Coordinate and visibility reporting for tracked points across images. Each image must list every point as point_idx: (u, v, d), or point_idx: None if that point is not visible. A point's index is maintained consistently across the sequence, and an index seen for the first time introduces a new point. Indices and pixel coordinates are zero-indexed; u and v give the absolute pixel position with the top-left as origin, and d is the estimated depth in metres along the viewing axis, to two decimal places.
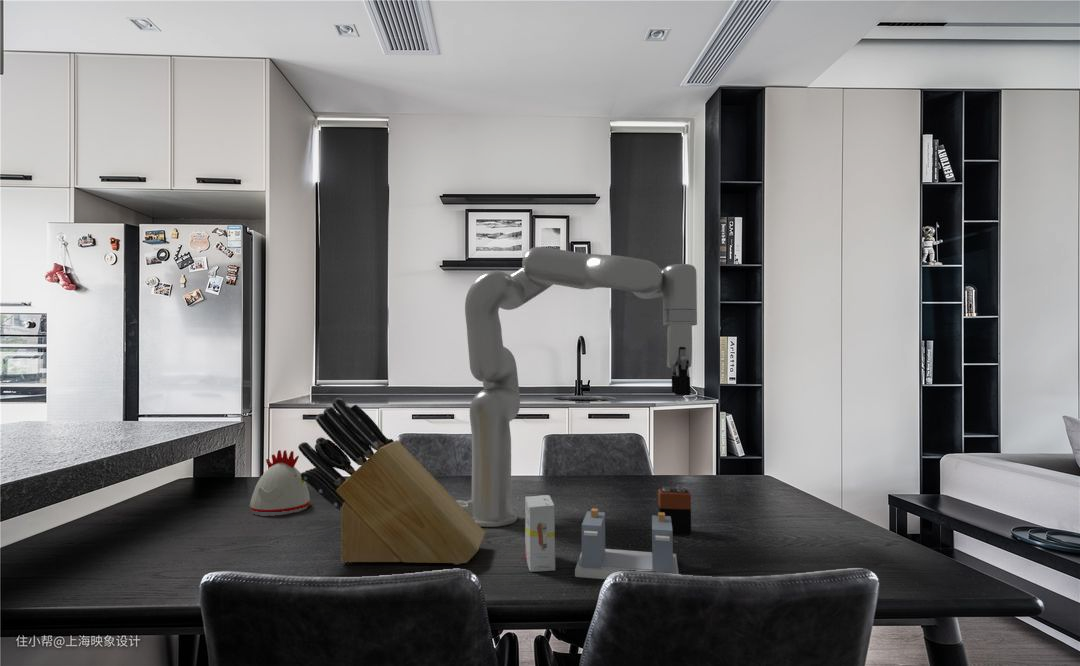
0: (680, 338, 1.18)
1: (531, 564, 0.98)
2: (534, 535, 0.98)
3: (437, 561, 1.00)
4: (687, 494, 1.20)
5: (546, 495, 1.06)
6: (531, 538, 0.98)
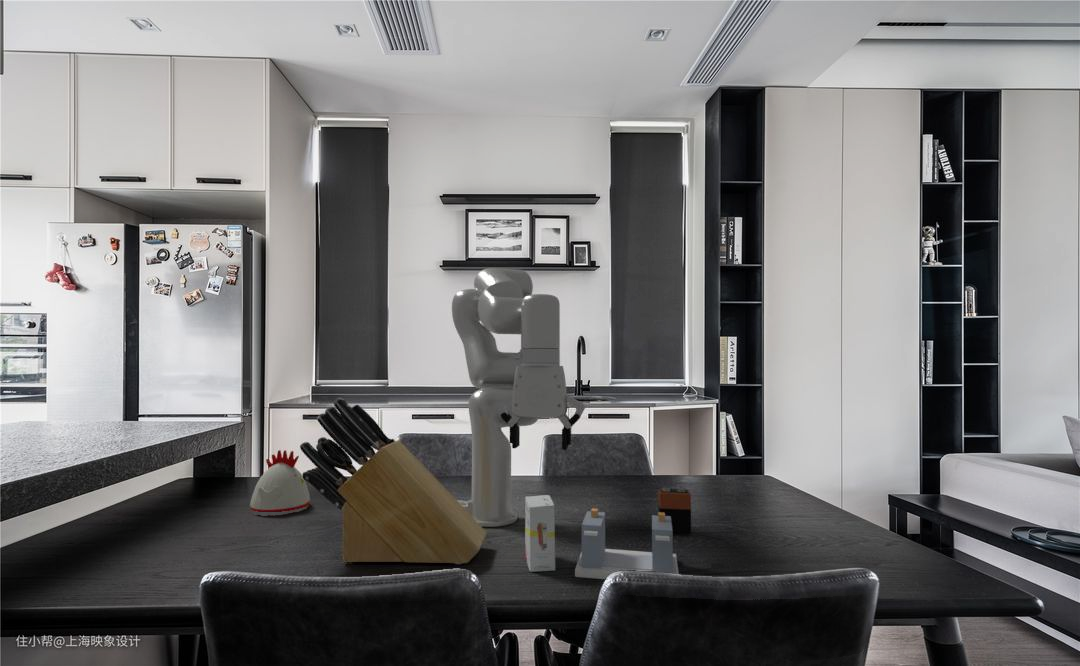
0: (565, 383, 1.03)
1: (531, 564, 0.98)
2: (534, 535, 0.98)
3: (438, 561, 1.00)
4: (687, 494, 1.20)
5: (546, 495, 1.06)
6: (531, 538, 0.98)
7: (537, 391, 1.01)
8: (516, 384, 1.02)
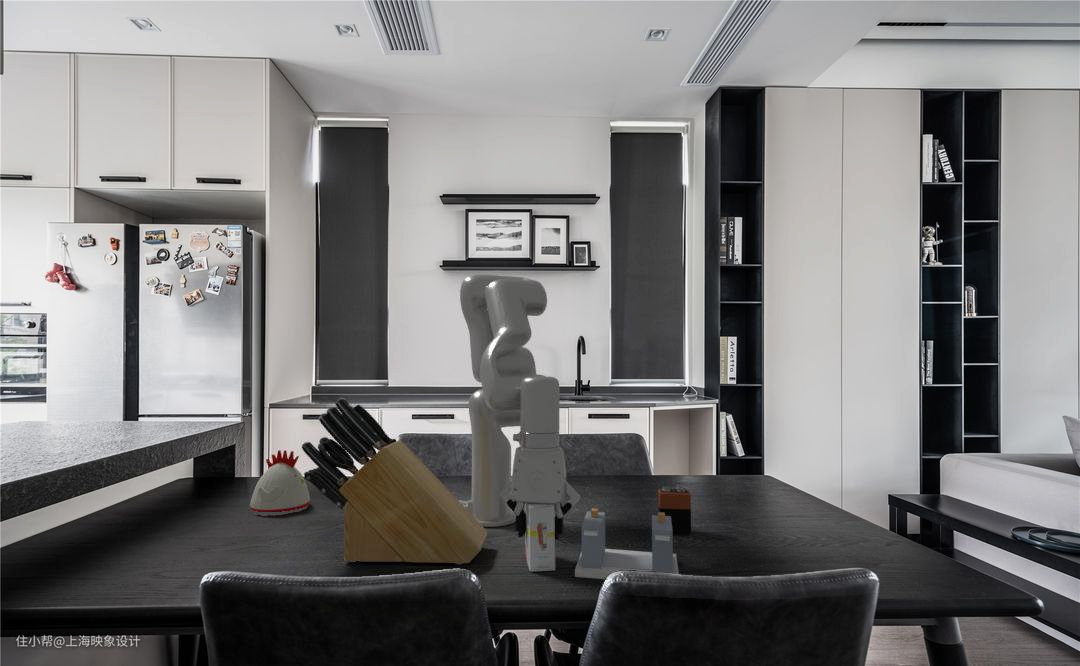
0: (564, 467, 1.02)
1: (531, 564, 0.98)
2: (534, 535, 0.98)
3: (439, 561, 1.00)
4: (687, 494, 1.20)
5: None
6: (531, 538, 0.98)
7: (536, 476, 1.00)
8: (515, 468, 1.01)
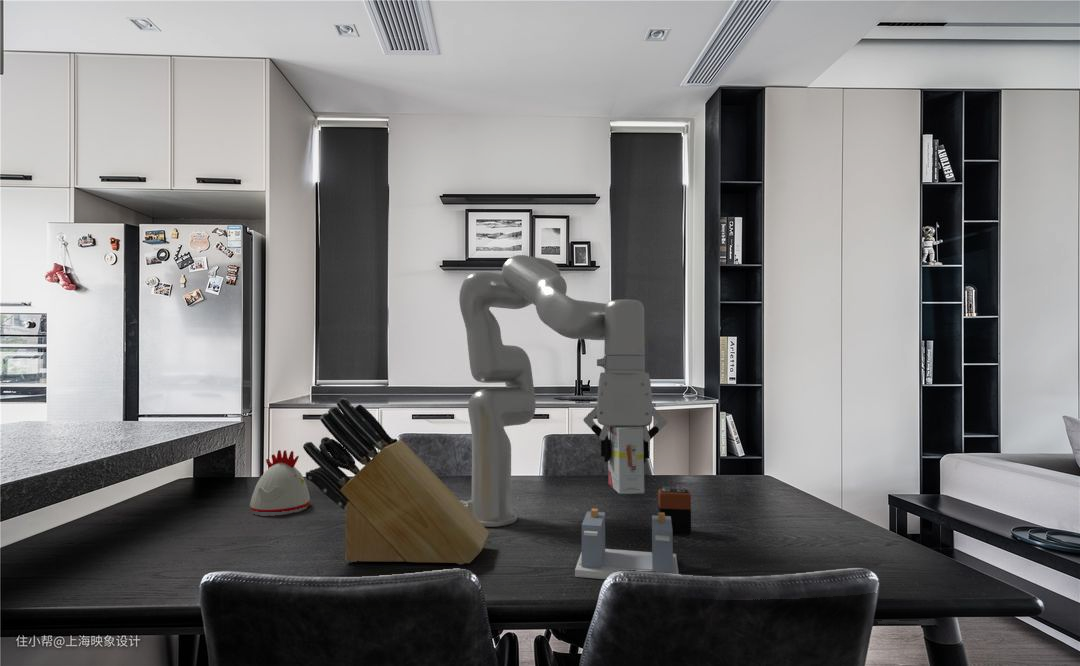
0: None
1: (620, 486, 0.96)
2: (624, 457, 0.97)
3: (441, 561, 1.00)
4: (687, 494, 1.20)
5: None
6: (620, 460, 0.96)
7: (624, 399, 0.99)
8: (601, 391, 1.00)
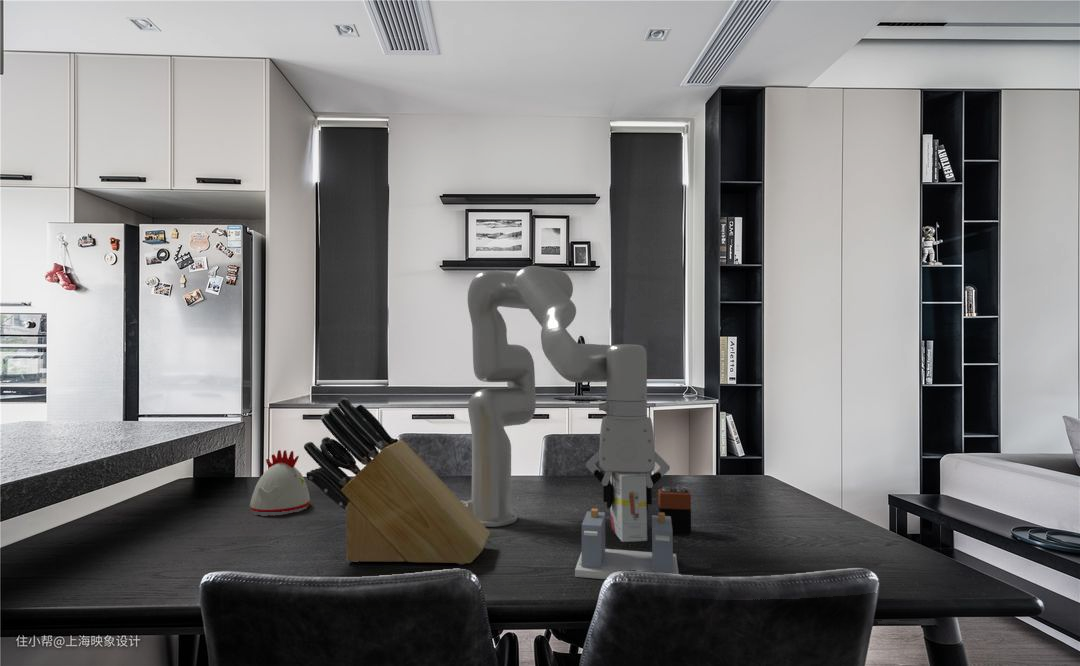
0: None
1: (623, 534, 0.96)
2: (626, 505, 0.96)
3: (441, 561, 1.00)
4: (687, 494, 1.20)
5: None
6: (623, 507, 0.96)
7: (626, 445, 0.98)
8: (603, 437, 0.99)
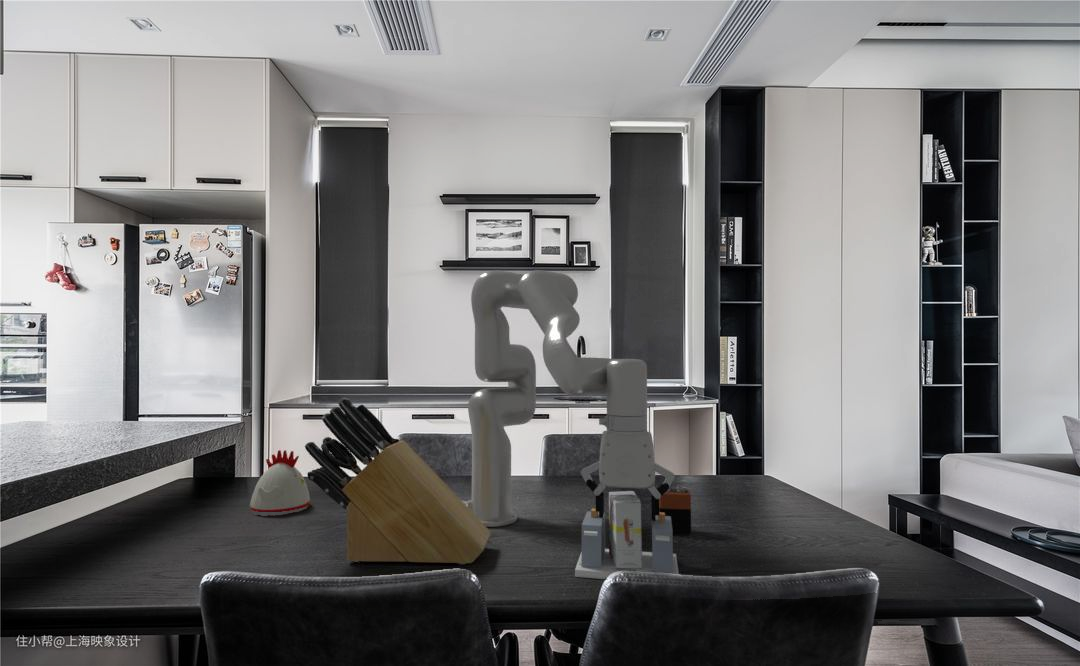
0: None
1: (617, 560, 0.96)
2: (621, 531, 0.96)
3: (442, 561, 1.00)
4: (687, 494, 1.20)
5: (630, 491, 1.04)
6: (617, 534, 0.96)
7: (626, 460, 0.98)
8: (603, 452, 0.99)
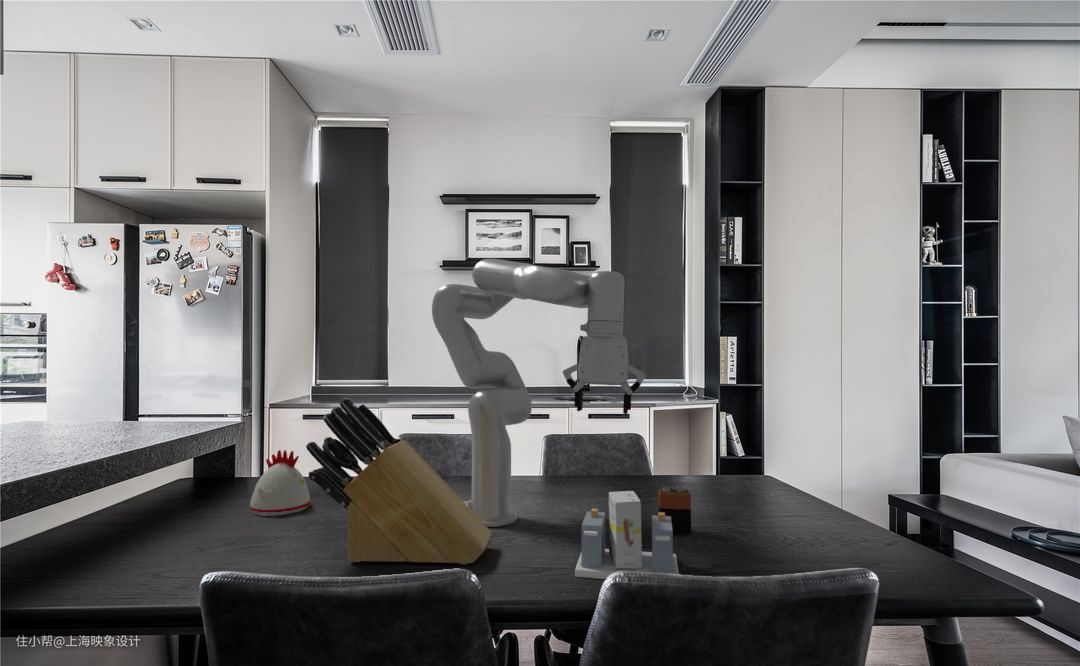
0: (627, 353, 1.12)
1: (617, 560, 0.96)
2: (621, 531, 0.96)
3: (443, 561, 1.00)
4: (687, 494, 1.20)
5: (630, 491, 1.04)
6: (617, 534, 0.96)
7: (602, 360, 1.11)
8: (583, 353, 1.12)
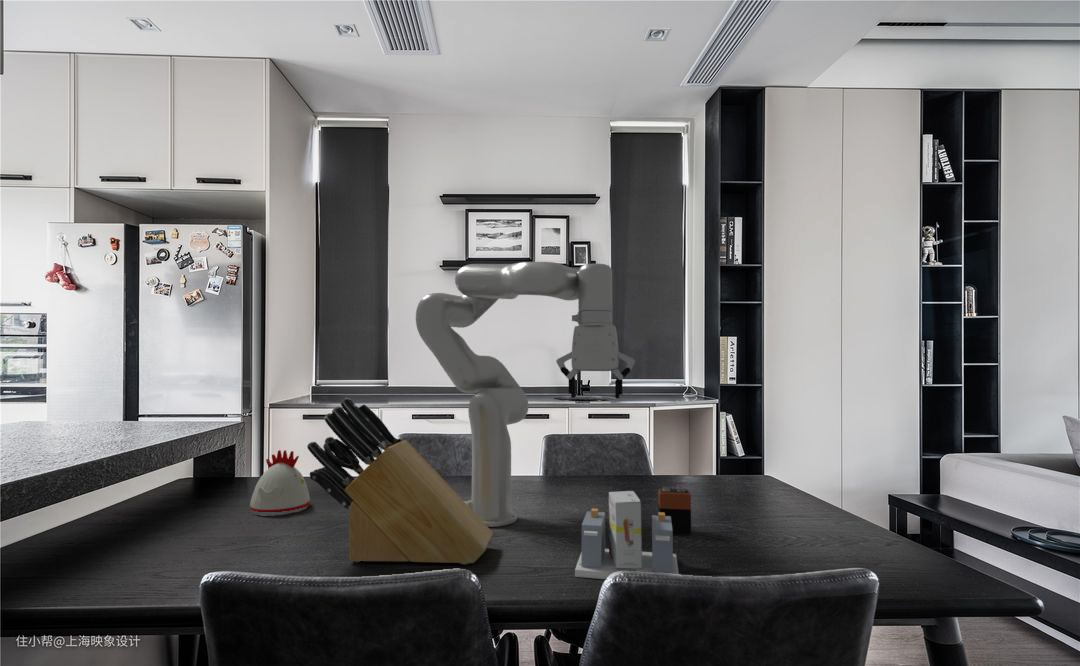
0: (617, 341, 1.18)
1: (617, 560, 0.96)
2: (621, 531, 0.96)
3: (444, 561, 1.00)
4: (687, 494, 1.20)
5: (630, 491, 1.04)
6: (617, 534, 0.96)
7: (594, 347, 1.17)
8: (575, 341, 1.18)
